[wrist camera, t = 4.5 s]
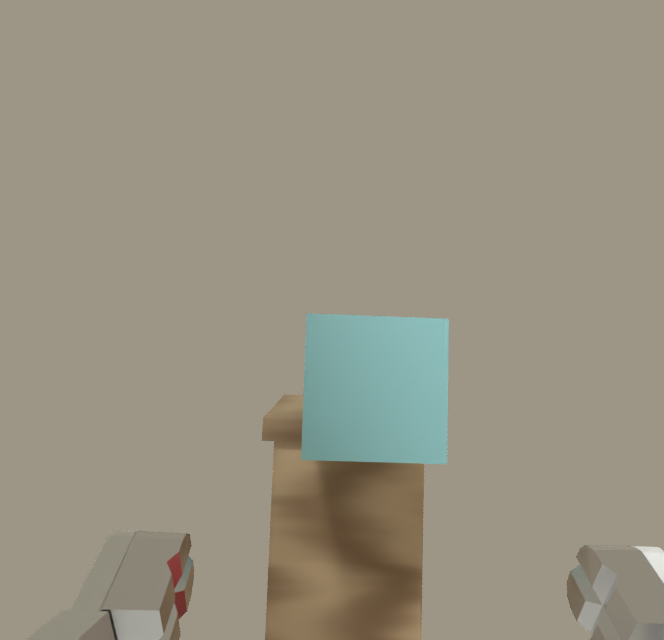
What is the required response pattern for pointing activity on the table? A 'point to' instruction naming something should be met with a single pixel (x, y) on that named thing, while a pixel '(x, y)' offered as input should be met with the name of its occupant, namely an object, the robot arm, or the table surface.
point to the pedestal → (341, 542)
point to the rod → (375, 389)
